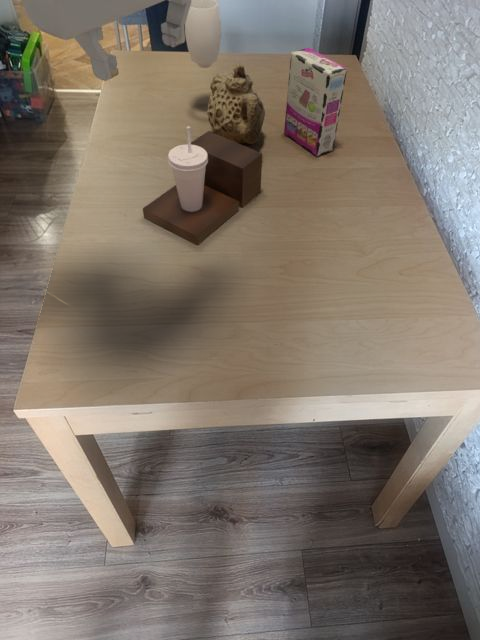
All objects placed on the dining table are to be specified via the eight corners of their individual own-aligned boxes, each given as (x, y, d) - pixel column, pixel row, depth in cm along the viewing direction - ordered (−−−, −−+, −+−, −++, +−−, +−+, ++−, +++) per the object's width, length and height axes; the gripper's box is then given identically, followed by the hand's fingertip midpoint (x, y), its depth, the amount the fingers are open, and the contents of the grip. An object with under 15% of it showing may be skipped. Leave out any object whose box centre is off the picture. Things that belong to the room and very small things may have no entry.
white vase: (203, 121, 109) (197, 13, 93) (183, 108, 113) (175, 0, 96) (229, 111, 113) (228, 5, 96) (209, 98, 116) (205, -7, 99)
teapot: (195, 120, 110) (190, 45, 98) (244, 112, 113) (245, 38, 101) (230, 173, 98) (229, 95, 86) (283, 162, 101) (290, 86, 89)
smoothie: (217, 202, 89) (215, 126, 78) (195, 221, 85) (189, 144, 74) (188, 189, 91) (182, 113, 80) (165, 207, 87) (156, 130, 76)
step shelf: (143, 217, 88) (137, 178, 82) (210, 169, 98) (208, 130, 92) (197, 245, 85) (194, 205, 78) (260, 192, 95) (262, 153, 88)
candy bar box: (334, 150, 105) (349, 67, 92) (316, 157, 103) (329, 74, 90) (300, 127, 110) (309, 45, 97) (282, 133, 108) (289, 51, 95)
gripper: (174, -160, 44) (185, 19, 55) (-29, -128, 33) (36, 87, 44) (232, -148, 42) (232, 35, 53) (37, -111, 31) (88, 110, 42)
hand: (142, 59), depth 48 cm, fingers open, 8 cm apart
